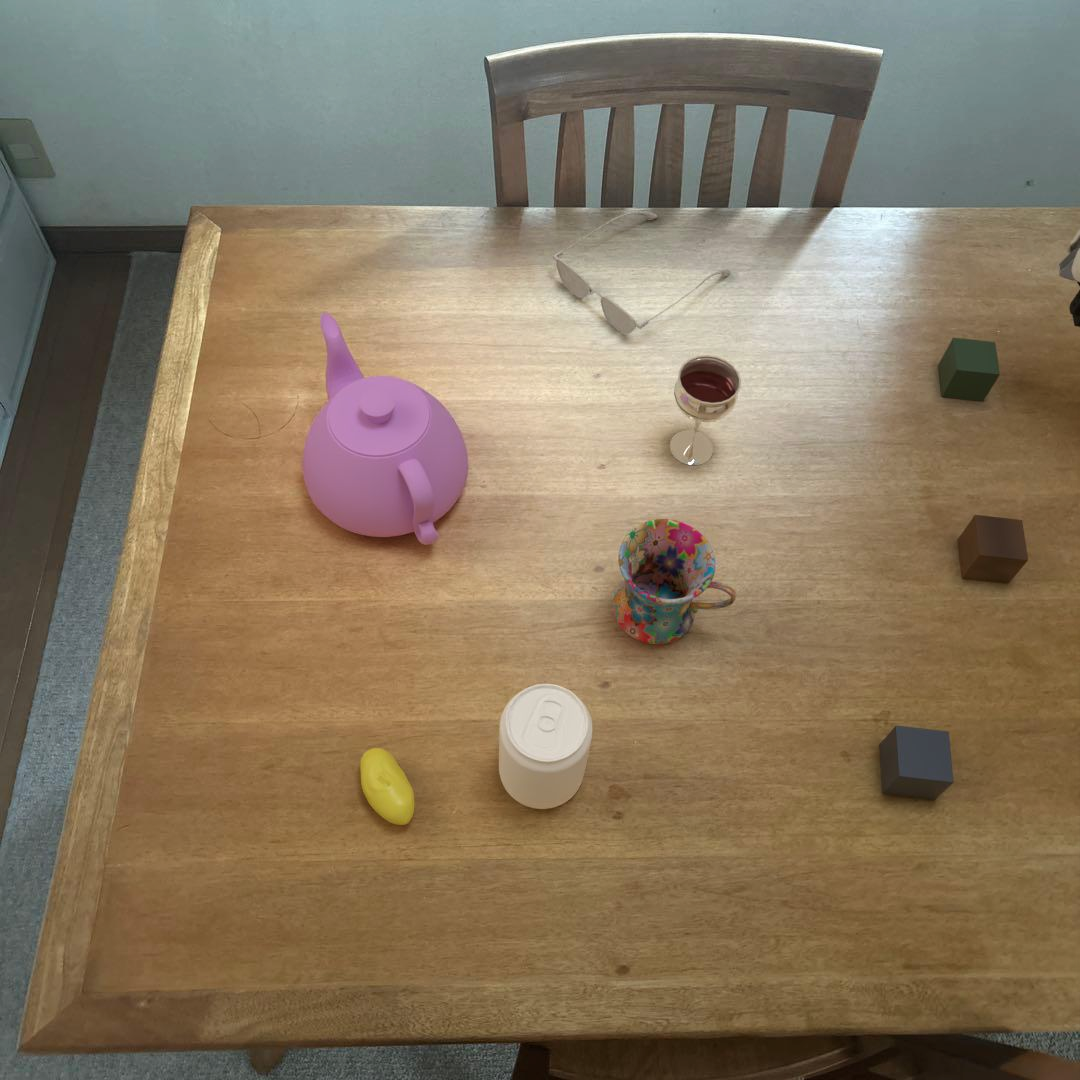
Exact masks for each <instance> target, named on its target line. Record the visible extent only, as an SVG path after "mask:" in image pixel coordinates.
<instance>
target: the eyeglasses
mask: <svg viewBox="0 0 1080 1080" xmlns="http://www.w3.org/2000/svg"><path fill="white" fill-rule="evenodd" d="M630 215H642V216H644V217H645V219H646V220H648V221H653V220H655V219H657V218H658V215H657V214H656V213H653V212H650V211H644V210H643V211H642V210H641V211H640V210H639V211H630V212H626V213H623V214H619V215H618V216H616V217H614V218H612V219H610V220H609V221H608V222H606V223H604V224H602V225H601V226H599V227H597V228H595V229H594V230H592V231H591V232H589V233H588V234H586V235H585V236H583V237H582V238H579V239H578V240H577V241H575V242H574V243H573V244H571V245H570V246H568V247H567V248H565V249H564V250H559V251H558V252H557V253H555V254H553V255H552V259H553V260H554V261H555V263H556V264H555V265H556V268H557V272H558V275H559V278H560V280H561V283H562V284H563V285H564V287H565V288H566V289H567V290H568V291H569V292H570V293H571V294H572V295H574V296H575V297H577V298H579V299H584V298H585V297H587V296H588V295H589V294H592V292H593V293H594V294H596V295H597V296H598V297H600V305H601V309H602V312H603V316H604V318H605V320H606V321H607V322H608V324H610V325H611V327H613V328H614V329H615V330H616V331H618V332H619V333H621V334H622V335H626V336H627V335H630V334H631V333H632V332H634V331H635V329H636V328H637V329H638V330H641V329H642V328H644V327H645V326H647V325H649V322H651V320H653V319H656V317H658V316H659V315H661V314H662V313H664V312H666V311H667V310H669V309H670V308H671V307H673V306H675V305H676V304H677V303H679V302H680V301H682V300H683V299H685V298H686V297H687V296H689V295H690V294H691V293H693V292H694V291H695V290H698V288H699V287H701V286H702V285H703V284H704V283H705V282H706V281H708V280H709V279H711V278H712V277H714V276H716V275H721V276H722V277H723V278H726V277H727V276H729V275H730V274H731V269H728V268H724V269H720V270H717V271H715V272H713V273H711V274H710V275H708V276H707V277H706V278H704V279H703V280H702V281H701V282H700V283H698V284H697V285H696V286H695V287H694V288H693V289H692V290H690V291H689V292H688V293H686V294H685V295H684V296H683V297H681V298H680V299H678V300H677V301H676V302H674V303H673V304H671V305H669V306H668V307H667V308H665V309H663V310H662V311H660V312H659V313H657V314H656V315H655V316H653V317H651V318H650V319H646V320H644V321H643V322H641V323H640V322H638V321H636V319H635V318H634V317H633V316H632V315H631V314H629V312H627V310H625V309H624V308H623V307H621V306H620V305H619V304H617V303H616V302H615V301H613V300H612V299H611V298H609V297H607V296H605V295H602V294H601V292H600V291H598V289H596V288H594V287H593V286H591V285H590V284H589V282H588V281H587V279H586V278H585V277H584V276H583V275H581V274H580V273H579V272H578V271H577V270H575V269H574V268H573V267H572V266H571V265H570V264H569V263H567V262H566V261H564V260H563V259H561V258H560V257H561V256H563V254H564V253H565V252H566V251H568V250H569V249H570V248H572V247H573V246H575V245H576V244H577V243H579V242H580V241H582V240H583V239H585V238H587V237H589V235H591V234H592V233H594V232H596V231H598V230H599V229H601V228H602V227H604V226H606V225H608V224H610V223H612V222H614V221H616V220H618V219H620V218H623V217H626V216H630Z"/></svg>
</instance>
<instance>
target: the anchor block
mask: <svg viewBox="0 0 1080 1080" xmlns="http://www.w3.org/2000/svg"><path fill="white" fill-rule="evenodd" d="M951 750H952V749H951V740H950V731H948V730H947V731H946V730H940V729H939V730H938V729H932V728H931V729H930V728H929V729H928V728H922V727H913V726H912V727H911V726H903V725H895V726H894V727H893V728H892V729H891V730H890V731H889V733H888V734H887V735H886V736H885V737H884V739H883V740H882V741H881V742H880V743H879V758H880V775H881V777H880V778H881V789H882V790H881V792H882V795H890V796H899V797H908V798H914V799H915V798H916V799H924V800H925V799H926V800H933V801H935V800H937V798H938V797H940V796H941V795H942V794H943V793H944V792H945V791H946V790H948V788H949V787H951V786H952V785H953V784H954V772H953V771H954V769H953V761H952V751H951Z"/></svg>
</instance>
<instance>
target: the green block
mask: <svg viewBox="0 0 1080 1080" xmlns="http://www.w3.org/2000/svg"><path fill="white" fill-rule="evenodd" d="M937 367H938V377H939V384H940V393H941V394H940V395H941V398H949V399H958V400H959V399H960V400H968V401H975V402H984V401H985V399H986V398H987V396H988V395H989V393H990V391H992V388H993V387H994V385H995V384H996V382H997V380H998V378H999V377H1000V375H1001V371H1000V365H999V358H998V352H997V345H996V342H995V341H988V340H980V339H970V338H962V337H961V338H960V337H952V339H951V341H950V342H949V344H948V346H947V348H946V349H945V352H944V354H943V355H942V357H941V359H940V361H939V363H938V365H937Z"/></svg>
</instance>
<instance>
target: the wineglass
mask: <svg viewBox="0 0 1080 1080" xmlns="http://www.w3.org/2000/svg"><path fill="white" fill-rule="evenodd" d="M741 387H742V378H741V376H740V372H739V371H738V370H737V368H736V367H735V366H734V364H732V363H730V362H729V361H728V360H727V359H724V358H721V357H719V356H716V355H709V354H704V355H697V356H694V357H690V358H689V359H687V360H686V361H685V362H684V363H683V364H682V365H681V366H680V367H679V370H678V375H677V380H676V381H675V384H674V391H673V395H674V399H675V403H676V405H677V407H678V408H679V410H680V412H681V413H682V414H683V415H685V416H686V417H688V419H691V420H693V421H694V426H693V429H685V430H681V431H679V432H677V433H676V434H675V435H673V436H672V438H671V439H670V441H669V449H670V453H671V454H672V456H673V457H674V459H676V460H677V461H678V462H680V463H683V464H685V465H688V466H698V465H703V464H704V463H707V462H708V461H709V460H711V457H712V455H713V454H714V446H713V442H712V441H711V440H710V438H709V436H707V435H706V434H704V433H702V432H700V431H699V430H700V428H701V425H702V423H716V422H718V421H721V420H723V419H724V418H725V417H726V416H728V415H729V414H730V413H731V412H732V411H733V410H734V407H735V406H736V404H737V402H738V398H739V392H740V390H741Z"/></svg>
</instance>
